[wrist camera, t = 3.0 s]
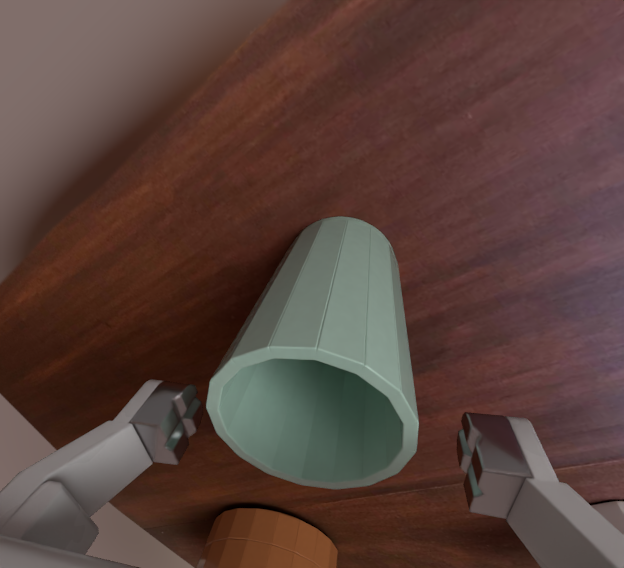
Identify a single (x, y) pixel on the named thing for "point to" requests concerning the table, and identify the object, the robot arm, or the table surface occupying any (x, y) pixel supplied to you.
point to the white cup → (612, 513)
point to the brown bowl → (266, 542)
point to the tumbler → (323, 365)
